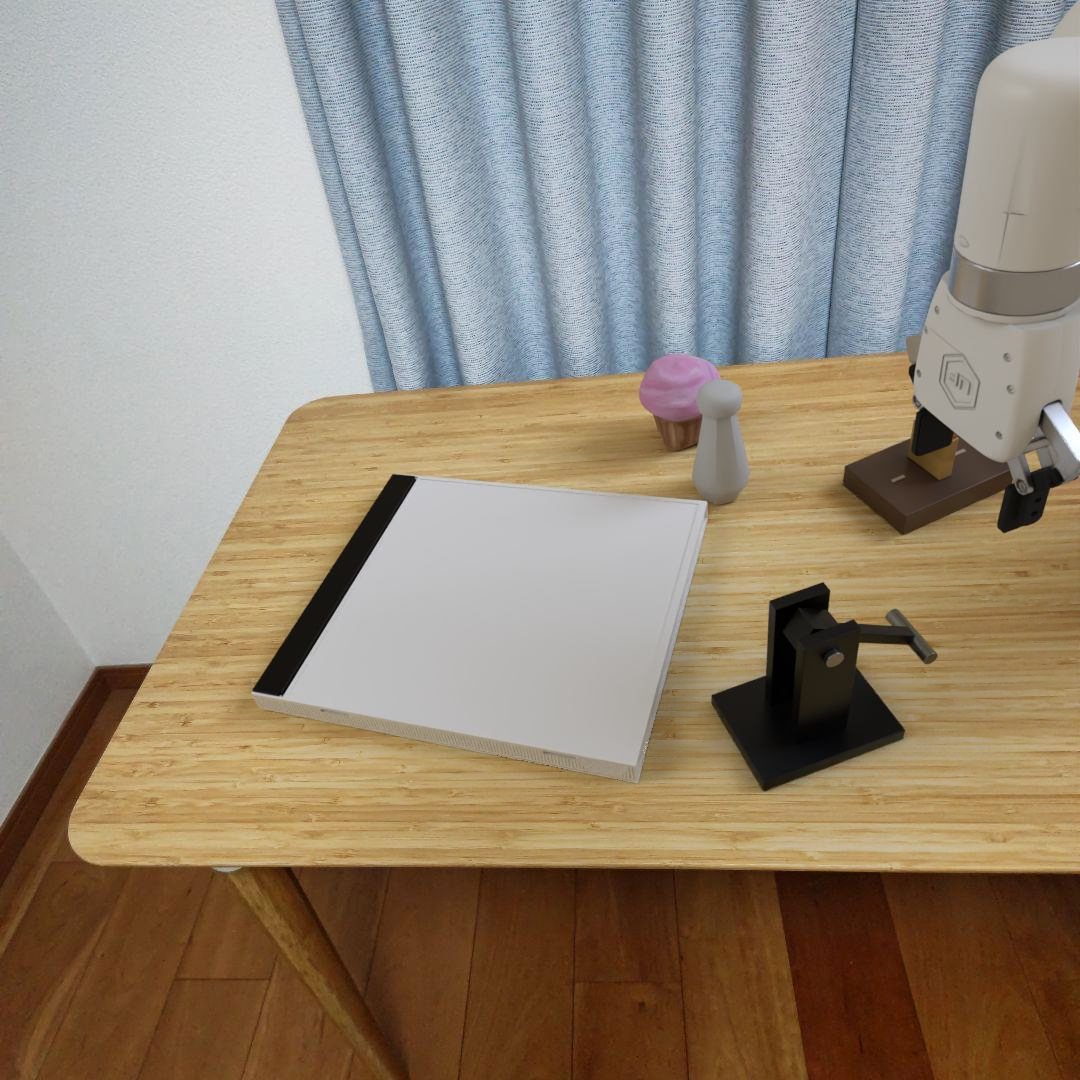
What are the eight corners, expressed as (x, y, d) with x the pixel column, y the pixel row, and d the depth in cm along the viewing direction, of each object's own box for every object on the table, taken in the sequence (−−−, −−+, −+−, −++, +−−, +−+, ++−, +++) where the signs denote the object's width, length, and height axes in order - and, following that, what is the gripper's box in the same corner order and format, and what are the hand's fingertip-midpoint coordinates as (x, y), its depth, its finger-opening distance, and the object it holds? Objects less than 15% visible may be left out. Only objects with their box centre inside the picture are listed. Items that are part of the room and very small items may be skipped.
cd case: (249, 692, 79) (393, 471, 100) (259, 708, 81) (399, 488, 102) (635, 766, 68) (707, 501, 89) (637, 783, 70) (707, 519, 91)
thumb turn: (907, 456, 90) (913, 417, 86) (918, 451, 90) (925, 412, 87) (939, 480, 86) (947, 441, 83) (951, 475, 87) (959, 436, 84)
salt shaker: (757, 481, 94) (760, 376, 85) (737, 515, 91) (737, 410, 82) (705, 469, 97) (702, 366, 88) (683, 502, 93) (678, 398, 85)
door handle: (889, 625, 72) (905, 603, 71) (927, 670, 68) (945, 647, 67) (772, 618, 67) (788, 594, 65) (807, 667, 63) (824, 642, 62)
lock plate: (945, 440, 94) (949, 420, 93) (1011, 486, 88) (1017, 465, 86) (842, 484, 92) (844, 464, 90) (902, 535, 85) (906, 514, 84)
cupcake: (665, 471, 97) (661, 394, 91) (630, 431, 104) (623, 356, 97) (737, 444, 99) (738, 366, 92) (698, 406, 105) (696, 331, 98)
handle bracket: (840, 656, 76) (854, 548, 68) (903, 739, 70) (928, 630, 61) (711, 703, 75) (708, 598, 66) (763, 792, 68) (768, 688, 59)
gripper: (878, 237, 60) (860, 438, 72) (1068, 356, 48) (1008, 577, 59) (976, 205, 61) (942, 409, 73) (1187, 313, 49) (1106, 539, 60)
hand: (972, 484), depth 66 cm, fingers open, 9 cm apart
